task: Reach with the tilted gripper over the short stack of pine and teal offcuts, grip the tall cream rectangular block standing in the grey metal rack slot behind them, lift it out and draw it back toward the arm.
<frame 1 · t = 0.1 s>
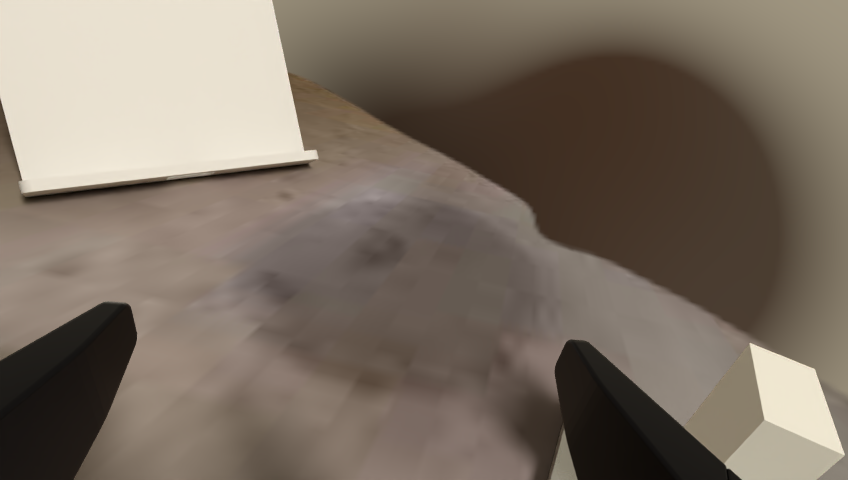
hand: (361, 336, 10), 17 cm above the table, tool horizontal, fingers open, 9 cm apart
tablet stand: (175, 156, 50), on the table
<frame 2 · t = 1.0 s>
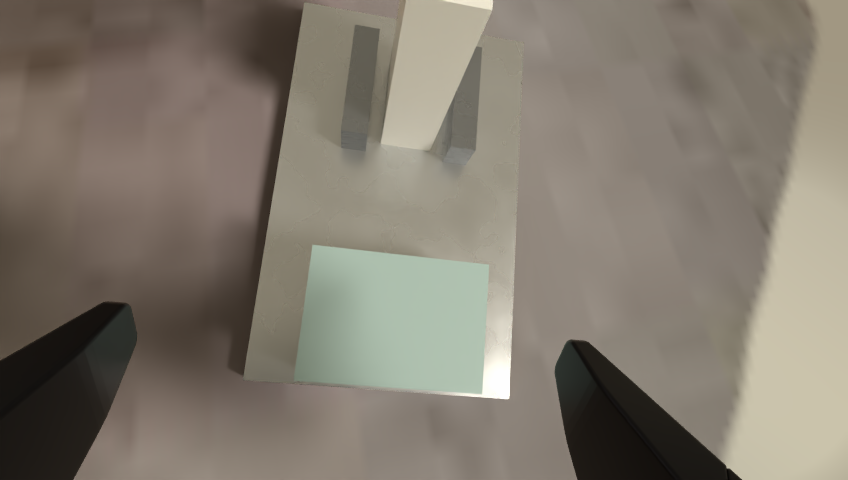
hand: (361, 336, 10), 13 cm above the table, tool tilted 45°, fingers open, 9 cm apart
rack: (406, 116, 25), on the table
offcut top: (392, 321, 20), point 3 cm above the table, touching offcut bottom
cream rectangular block: (409, 107, 24), point 1 cm above the table, touching rack
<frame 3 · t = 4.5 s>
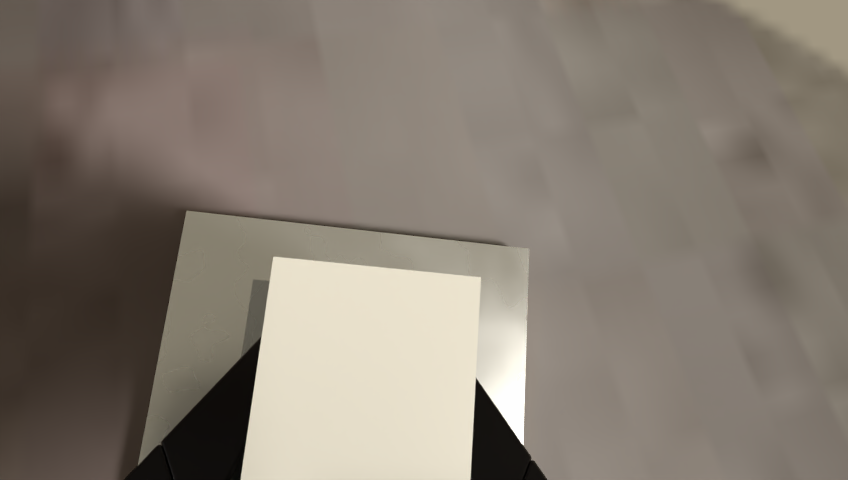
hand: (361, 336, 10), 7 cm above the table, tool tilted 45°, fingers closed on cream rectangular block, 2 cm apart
rack: (350, 375, 16), on the table
cream rectangular block: (351, 378, 15), point 1 cm above the table, touching gripper, rack
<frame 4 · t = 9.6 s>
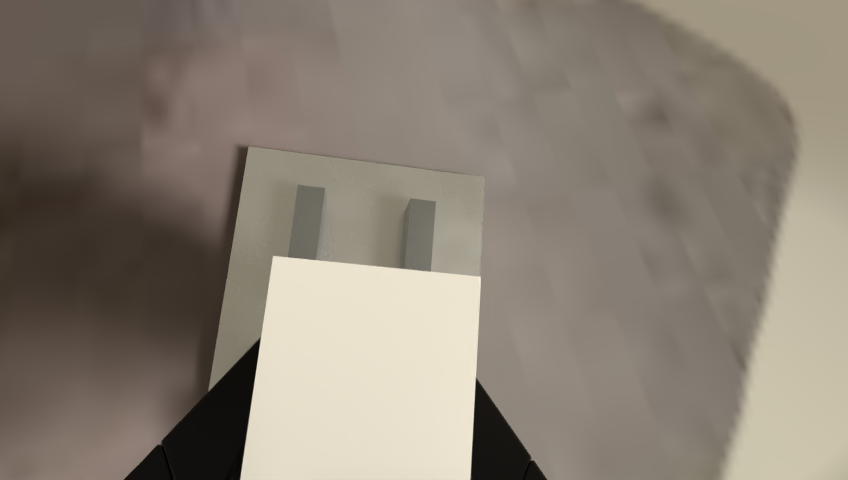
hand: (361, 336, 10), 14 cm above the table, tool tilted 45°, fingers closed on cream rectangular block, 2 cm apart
rack: (360, 262, 24), on the table
cream rectangular block: (351, 378, 15), point 7 cm above the table, touching gripper
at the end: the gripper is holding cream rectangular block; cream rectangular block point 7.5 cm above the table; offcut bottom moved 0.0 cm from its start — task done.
